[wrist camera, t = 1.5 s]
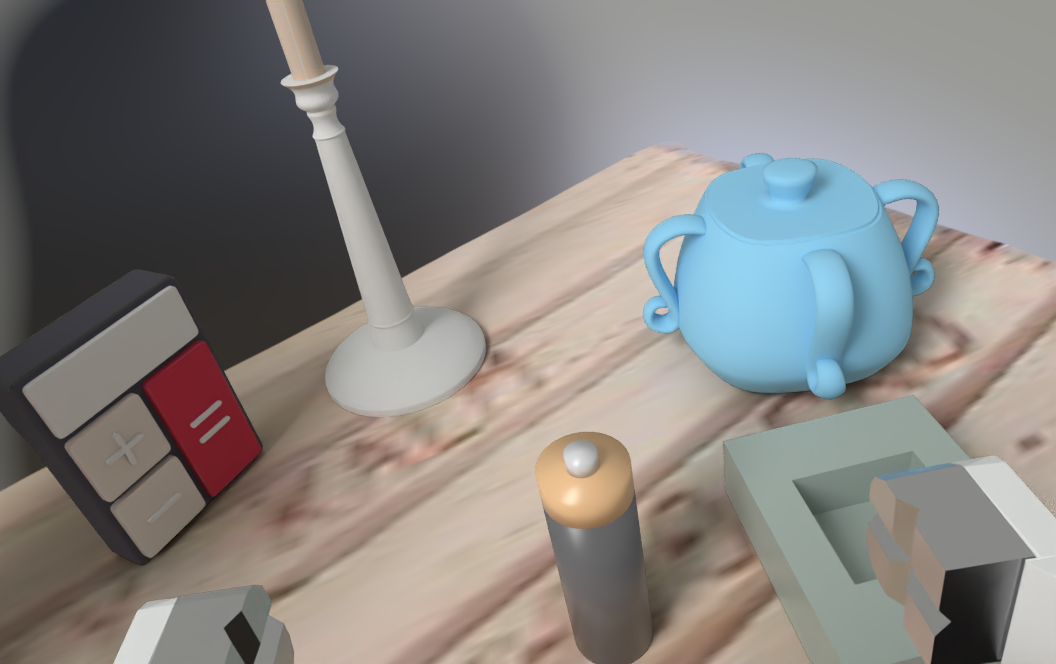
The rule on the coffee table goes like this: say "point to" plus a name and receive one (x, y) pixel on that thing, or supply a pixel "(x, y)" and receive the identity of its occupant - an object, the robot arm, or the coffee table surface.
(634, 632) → the battery cell
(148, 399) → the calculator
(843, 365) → the decorative pot
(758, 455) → the block
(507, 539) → the coffee table surface
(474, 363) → the candlestick
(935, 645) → the robot arm
